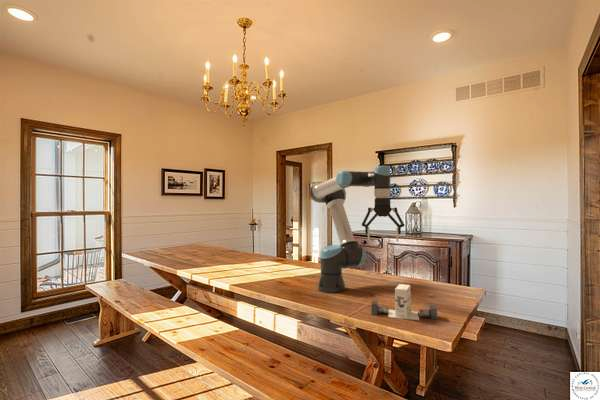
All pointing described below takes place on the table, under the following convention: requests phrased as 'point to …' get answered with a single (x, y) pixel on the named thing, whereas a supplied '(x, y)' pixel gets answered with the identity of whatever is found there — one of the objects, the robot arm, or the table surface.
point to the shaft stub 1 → (378, 308)
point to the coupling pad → (411, 316)
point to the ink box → (402, 300)
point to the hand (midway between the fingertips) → (382, 240)
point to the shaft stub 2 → (429, 312)
